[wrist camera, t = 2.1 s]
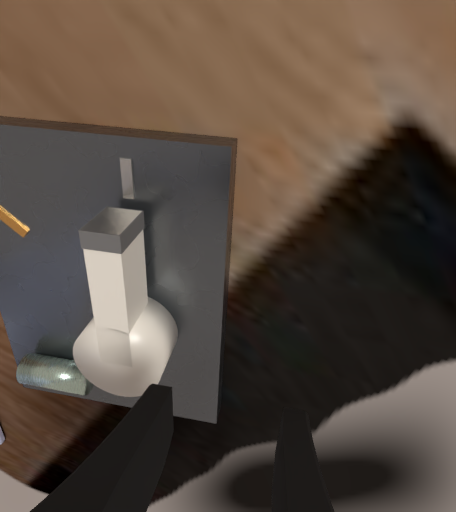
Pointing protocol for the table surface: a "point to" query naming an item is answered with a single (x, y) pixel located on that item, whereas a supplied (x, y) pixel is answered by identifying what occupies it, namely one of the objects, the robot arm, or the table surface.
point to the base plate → (155, 243)
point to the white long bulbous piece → (121, 308)
